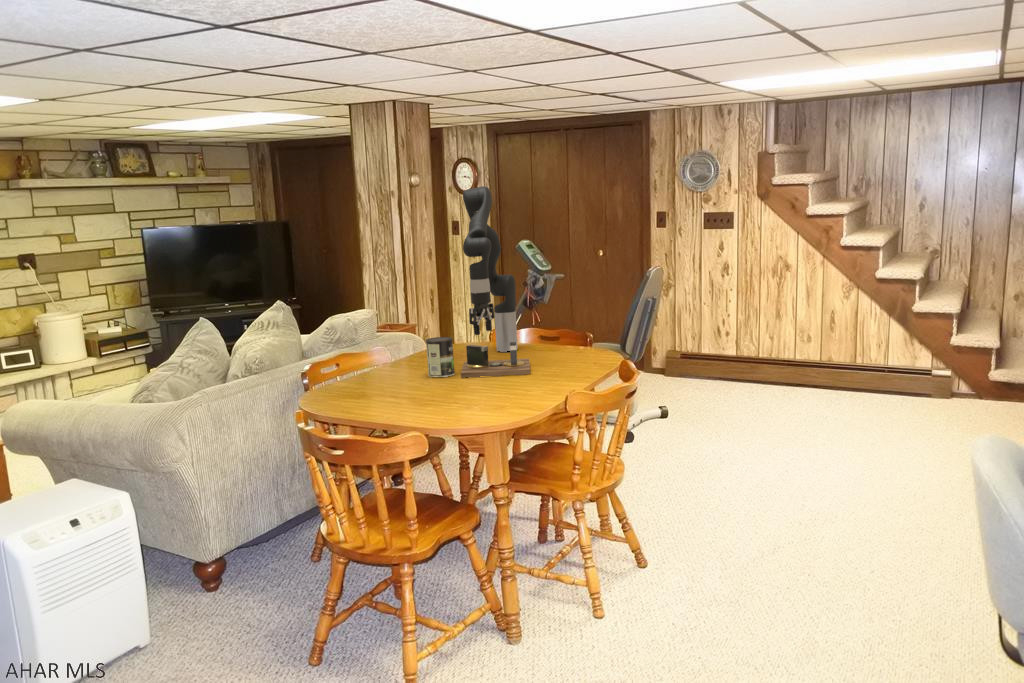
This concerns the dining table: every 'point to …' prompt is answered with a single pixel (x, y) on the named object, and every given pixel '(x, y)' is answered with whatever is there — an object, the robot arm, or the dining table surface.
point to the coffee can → (440, 357)
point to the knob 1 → (477, 356)
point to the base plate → (496, 369)
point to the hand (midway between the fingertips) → (483, 332)
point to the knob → (513, 357)
